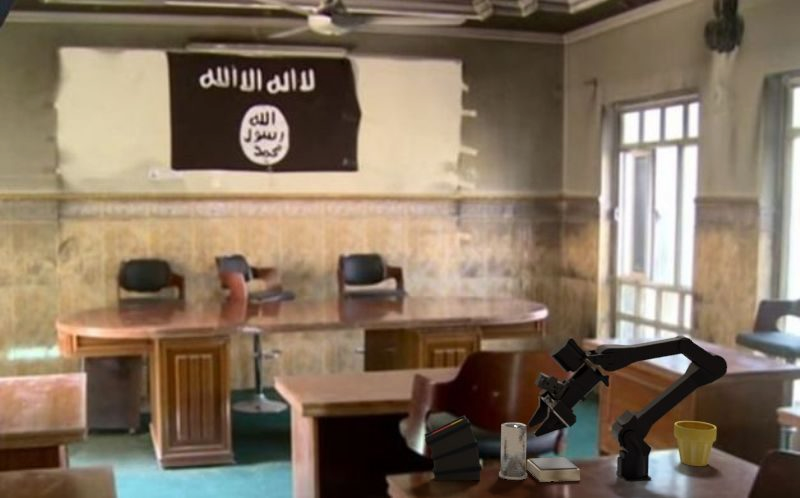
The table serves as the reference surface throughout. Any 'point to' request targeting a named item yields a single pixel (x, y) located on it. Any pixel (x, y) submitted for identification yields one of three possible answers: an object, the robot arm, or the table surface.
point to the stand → (553, 469)
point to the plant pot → (694, 441)
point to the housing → (513, 451)
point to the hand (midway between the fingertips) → (532, 430)
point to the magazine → (454, 451)
